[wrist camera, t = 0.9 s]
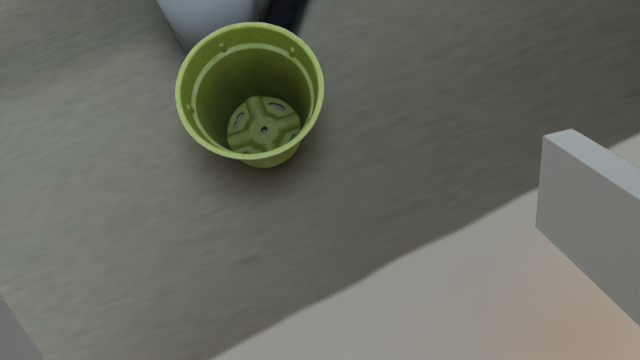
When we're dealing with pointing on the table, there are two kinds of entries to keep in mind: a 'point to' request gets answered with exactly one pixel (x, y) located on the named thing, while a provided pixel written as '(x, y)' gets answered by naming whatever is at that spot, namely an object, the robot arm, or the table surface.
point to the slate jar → (205, 17)
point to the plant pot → (250, 92)
